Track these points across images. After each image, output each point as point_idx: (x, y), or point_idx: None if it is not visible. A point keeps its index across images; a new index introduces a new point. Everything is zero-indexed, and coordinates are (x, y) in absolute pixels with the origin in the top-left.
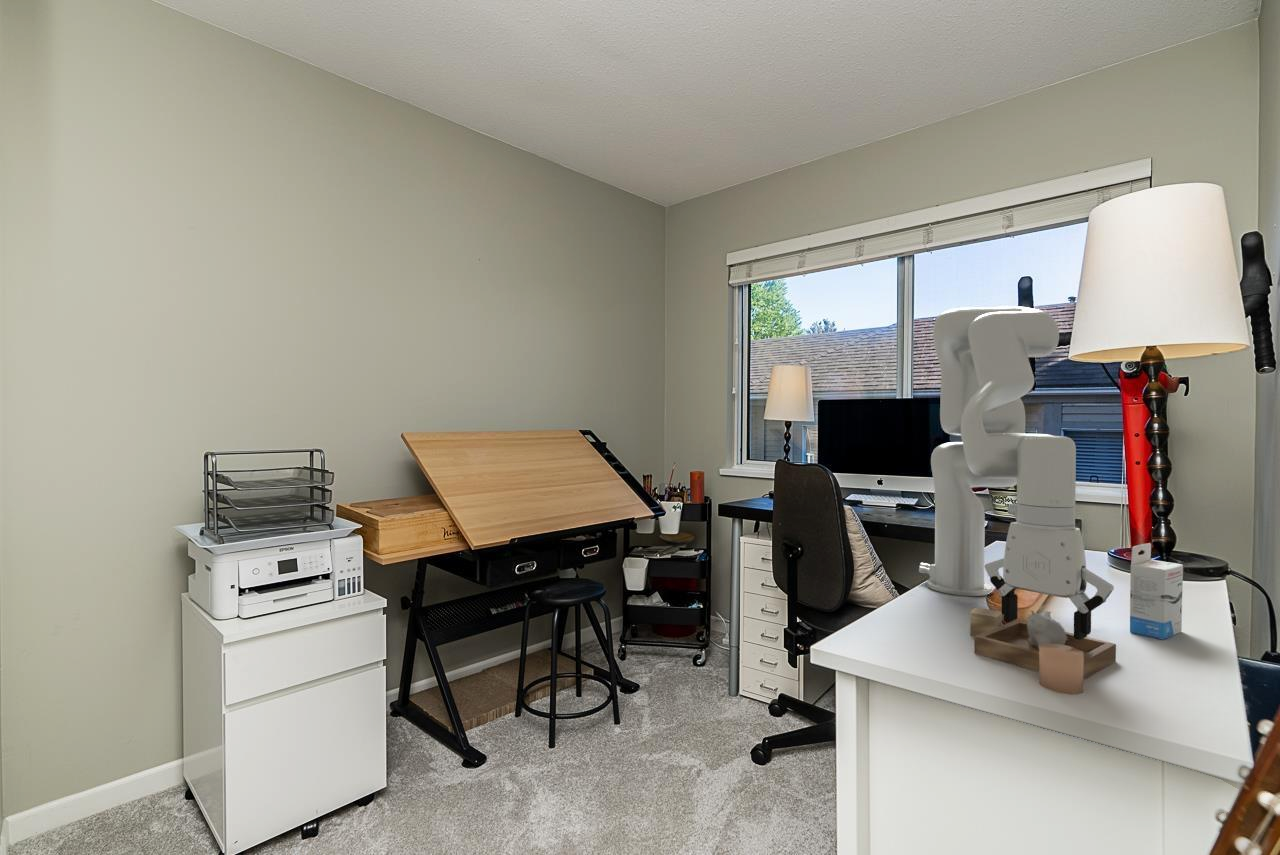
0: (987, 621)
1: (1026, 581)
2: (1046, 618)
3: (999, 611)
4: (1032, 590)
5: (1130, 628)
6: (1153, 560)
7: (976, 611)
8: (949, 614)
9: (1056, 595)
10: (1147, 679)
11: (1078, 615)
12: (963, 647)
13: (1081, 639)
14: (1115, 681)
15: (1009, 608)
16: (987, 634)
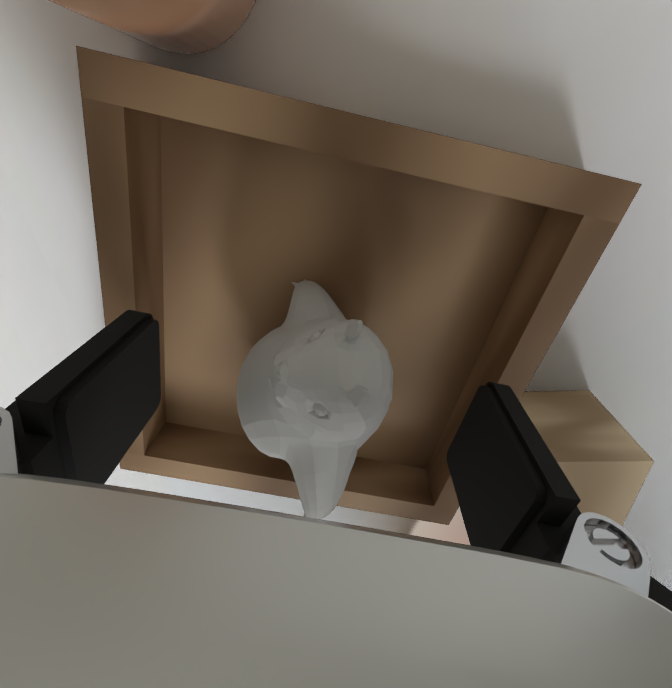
0: (559, 440)
1: (455, 661)
2: (284, 392)
3: None
4: (361, 527)
5: None
6: None
7: (620, 489)
8: (643, 547)
9: (84, 483)
10: (21, 321)
11: (36, 384)
12: (630, 226)
13: (225, 463)
14: (64, 221)
15: (506, 440)
16: (564, 270)
